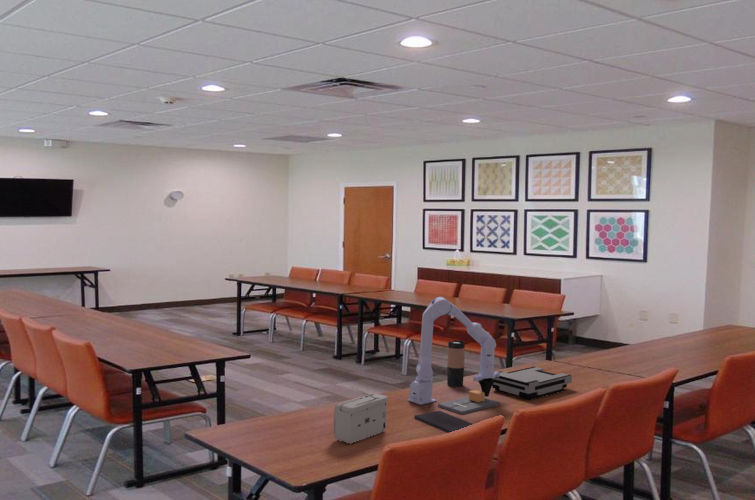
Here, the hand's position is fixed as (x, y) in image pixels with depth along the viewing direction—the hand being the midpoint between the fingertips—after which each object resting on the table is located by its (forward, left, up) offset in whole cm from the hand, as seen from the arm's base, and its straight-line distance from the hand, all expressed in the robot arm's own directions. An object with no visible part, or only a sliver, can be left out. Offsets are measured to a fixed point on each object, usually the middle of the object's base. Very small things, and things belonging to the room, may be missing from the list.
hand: (485, 396), depth 285 cm
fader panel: (-10, 0, -2) cm, 11 cm away
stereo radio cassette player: (-70, -3, -3) cm, 70 cm away
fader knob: (-6, 0, -1) cm, 6 cm away
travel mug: (+9, +26, -3) cm, 28 cm away
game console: (+31, 0, -3) cm, 31 cm away
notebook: (-35, -10, -3) cm, 36 cm away
